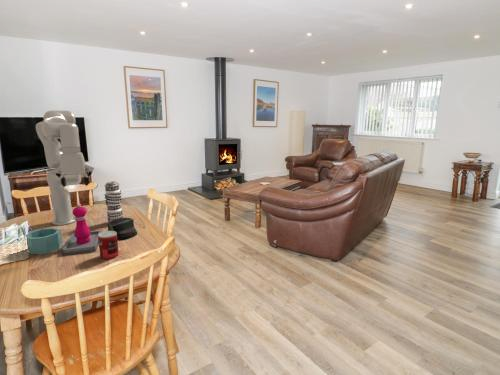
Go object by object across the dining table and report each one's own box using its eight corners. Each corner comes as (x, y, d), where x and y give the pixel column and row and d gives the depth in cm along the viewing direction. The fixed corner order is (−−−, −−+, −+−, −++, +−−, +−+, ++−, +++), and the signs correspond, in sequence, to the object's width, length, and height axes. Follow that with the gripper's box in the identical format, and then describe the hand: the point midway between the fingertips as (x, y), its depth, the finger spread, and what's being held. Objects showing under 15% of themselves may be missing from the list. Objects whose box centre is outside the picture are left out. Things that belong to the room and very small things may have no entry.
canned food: (104, 252, 145) (101, 230, 142) (121, 251, 146) (119, 230, 143) (97, 259, 137) (94, 237, 135) (115, 259, 138) (113, 236, 136)
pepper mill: (94, 239, 156) (90, 202, 151) (83, 245, 149) (77, 206, 145) (84, 238, 158) (79, 201, 154) (72, 243, 152) (66, 205, 147)
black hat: (133, 243, 156) (131, 226, 154) (94, 242, 156) (92, 225, 154) (145, 229, 176) (144, 213, 173) (111, 228, 176) (109, 213, 173)
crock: (34, 244, 153) (31, 229, 151) (64, 241, 157) (62, 226, 155) (23, 256, 141) (20, 240, 139) (57, 252, 145) (54, 236, 143)
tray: (73, 237, 162) (72, 233, 161) (102, 234, 166) (101, 230, 166) (62, 255, 142) (61, 250, 141) (95, 251, 146) (95, 246, 145)
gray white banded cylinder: (127, 221, 187) (123, 181, 182) (114, 225, 179) (110, 184, 174) (117, 218, 191) (113, 180, 186) (104, 223, 183) (99, 183, 178)
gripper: (47, 151, 137) (53, 188, 141) (90, 150, 142) (94, 186, 146) (52, 150, 144) (57, 185, 148) (93, 149, 149) (96, 183, 153)
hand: (75, 185), depth 147 cm, fingers open, 9 cm apart
